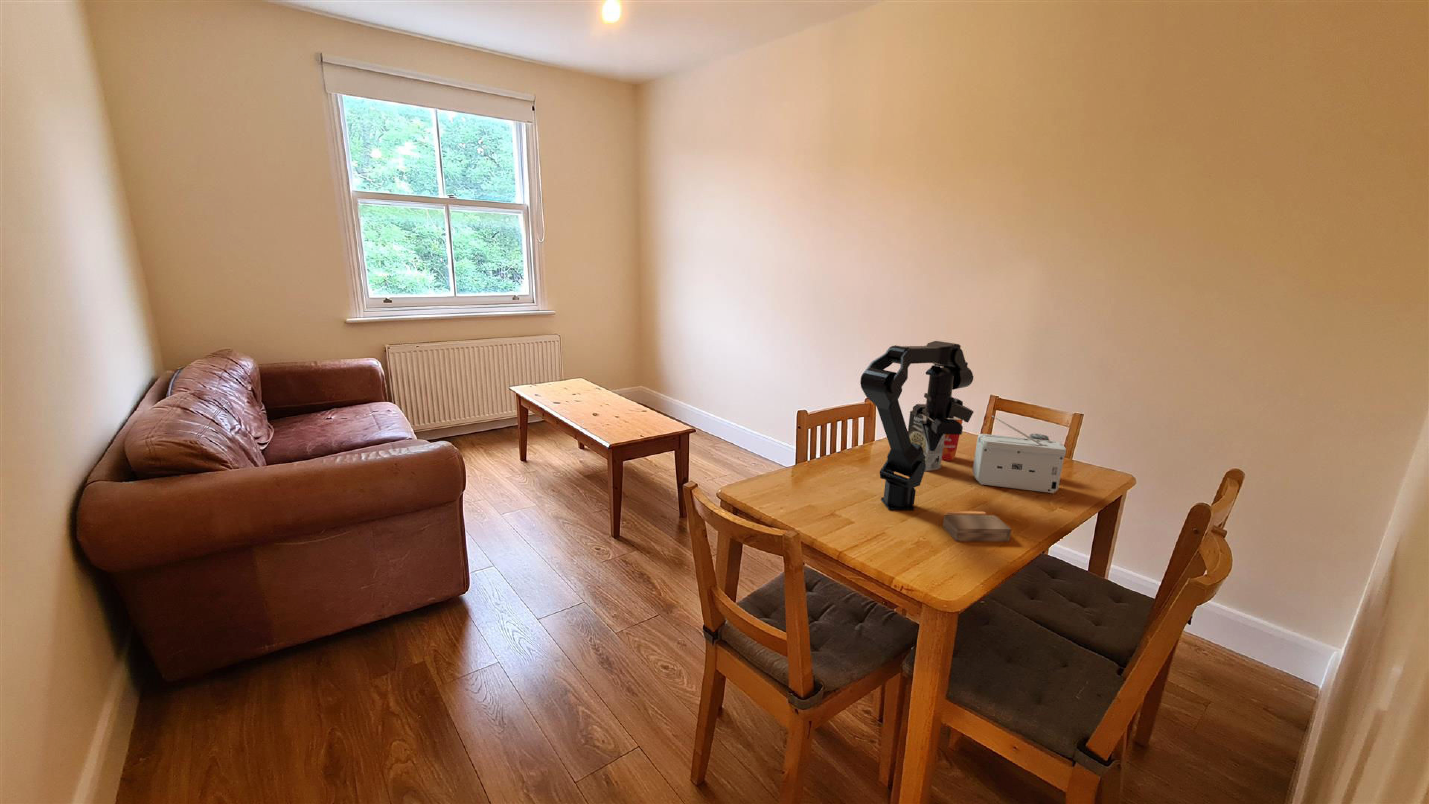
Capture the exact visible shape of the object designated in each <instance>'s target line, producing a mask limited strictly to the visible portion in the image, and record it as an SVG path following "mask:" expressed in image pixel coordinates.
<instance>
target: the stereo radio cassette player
mask: <svg viewBox="0 0 1429 804" xmlns="http://www.w3.org/2000/svg"><path fill="white" fill-rule="evenodd" d="M991 417H992V418H993V419H994V418H995V419H996V420H997V421H999V422H1001V423H1002V424H1004V425H1006V426H1007V427H1009V428H1010V429H1012V430H1013V431H1015V432H1017V433H1019V434H1021V435H1022V436H1024V437H1018V436H1007V435H1006V436H1005V435H998V434H997V435H995V434H987V433H979V434H978V435H977V440H976V444H975V447H976V448H975V453H974V459H973V464H972V465H973V466H972V475H973V476H974V478H975V479H976V481H977V482H978V483H979V484H980V485H981V486H983V485H986V486H992V487H993V486H994V487H1002V488H1008V489H1019V490H1025V491H1031V492H1032V491H1033V492H1040V493H1041V492H1042V493H1049V494H1051V493H1052V494H1054V493H1055V492H1057V491H1058V490H1059V486H1060V483H1061V482H1060V481H1061V475H1062V471H1063V466H1064V465H1063V464H1064V461H1065V456H1066V454H1067V448H1066V447H1065V446H1064V445H1063V443H1062V442H1060V441H1056V440H1050V441H1048V440H1038V439H1033V438H1031V437H1029V436H1030V435H1028V434H1026V433H1024V432H1022V431H1020V430H1019V429H1017V428H1016V427H1013V426H1011V425H1010V424H1008V423H1006V422H1004V421H1002V420H1001V419H999V418H998V417H995V415H991ZM1028 438H1029V439H1028Z"/></svg>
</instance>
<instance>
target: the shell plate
mask: <svg viewBox="0 0 1429 804" xmlns="http://www.w3.org/2000/svg"><path fill="white" fill-rule="evenodd" d="M945 515H987V512H985V511H973V510H972V511H969V510H968V511H964V510H963V511H962V510H961V511H959V510H957V511H955V510H954V511H953V510H951V511H950V510H946V513H945Z"/></svg>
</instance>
